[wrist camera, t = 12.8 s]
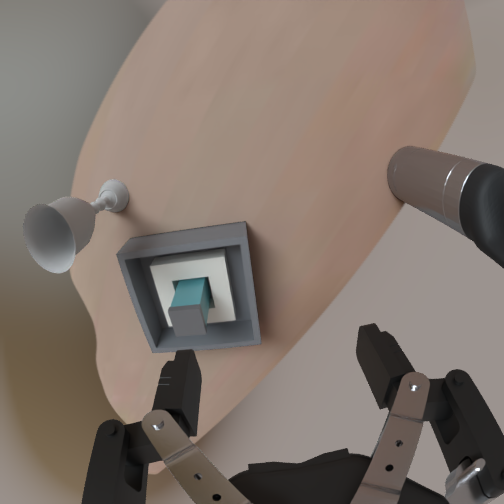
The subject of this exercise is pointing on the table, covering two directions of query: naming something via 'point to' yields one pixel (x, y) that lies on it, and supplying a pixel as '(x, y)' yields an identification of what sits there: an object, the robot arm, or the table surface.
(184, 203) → the table surface
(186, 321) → the peg
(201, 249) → the walled box
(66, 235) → the chalice
